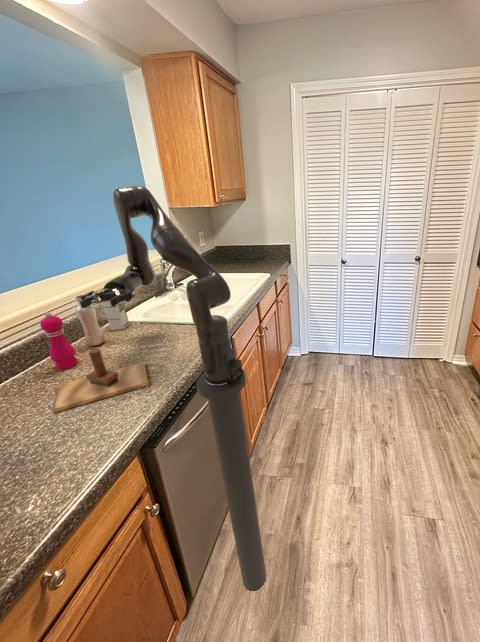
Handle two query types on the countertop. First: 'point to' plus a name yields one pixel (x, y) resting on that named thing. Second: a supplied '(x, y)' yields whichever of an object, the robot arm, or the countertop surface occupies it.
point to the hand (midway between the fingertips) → (97, 304)
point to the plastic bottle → (89, 324)
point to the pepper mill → (58, 342)
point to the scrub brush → (100, 371)
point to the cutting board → (100, 387)
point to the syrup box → (116, 315)
